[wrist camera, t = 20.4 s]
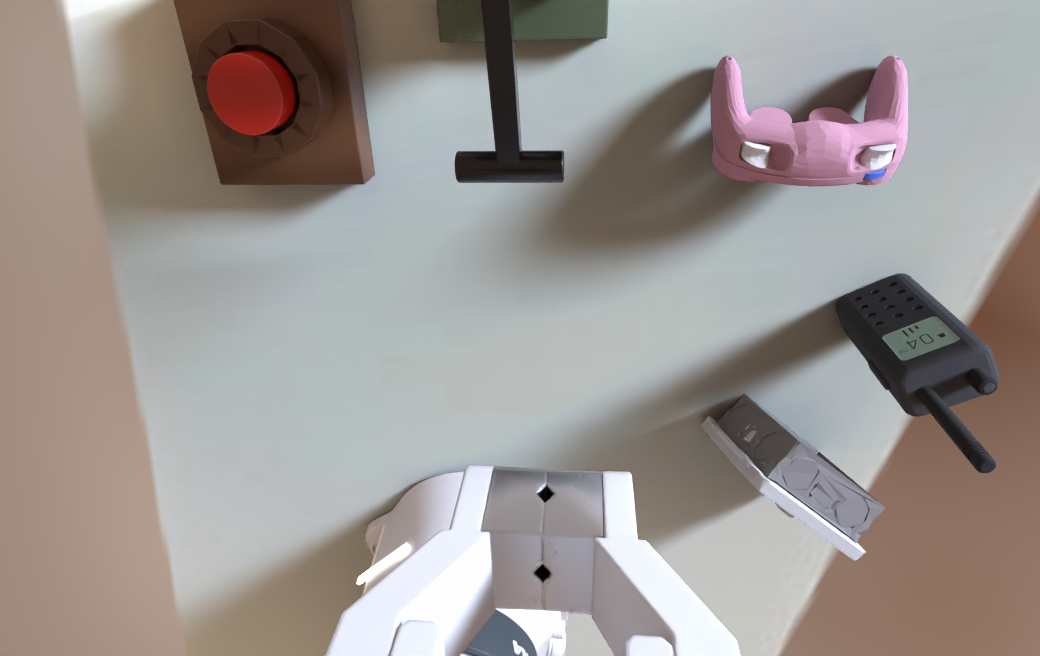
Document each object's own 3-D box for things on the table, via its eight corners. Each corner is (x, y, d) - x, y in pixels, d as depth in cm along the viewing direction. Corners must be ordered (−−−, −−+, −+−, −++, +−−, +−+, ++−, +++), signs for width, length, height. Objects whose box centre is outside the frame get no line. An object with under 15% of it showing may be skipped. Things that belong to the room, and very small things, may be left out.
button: (302, 128, 34) (289, 135, 33) (233, 129, 35) (217, 136, 33) (288, 49, 33) (273, 52, 31) (215, 51, 33) (197, 53, 31)
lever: (564, 165, 30) (563, 194, 29) (463, 165, 31) (455, 195, 29) (562, -141, 21) (559, -123, 20) (419, -134, 22) (405, -115, 20)
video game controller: (697, 119, 37) (708, 202, 33) (713, 47, 33) (727, 130, 29) (871, 121, 36) (904, 206, 32) (907, 46, 32) (949, 133, 28)
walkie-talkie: (906, 268, 39) (1071, 411, 25) (921, 311, 40) (1086, 469, 27) (827, 301, 40) (943, 452, 27) (844, 342, 41) (963, 506, 28)
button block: (375, 175, 39) (354, 193, 35) (238, 175, 40) (204, 193, 36) (347, -28, 34) (319, -31, 30) (190, -22, 35) (145, -24, 31)
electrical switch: (695, 419, 45) (730, 504, 37) (748, 370, 44) (798, 447, 35) (785, 486, 47) (838, 581, 39) (839, 441, 46) (907, 531, 37)
